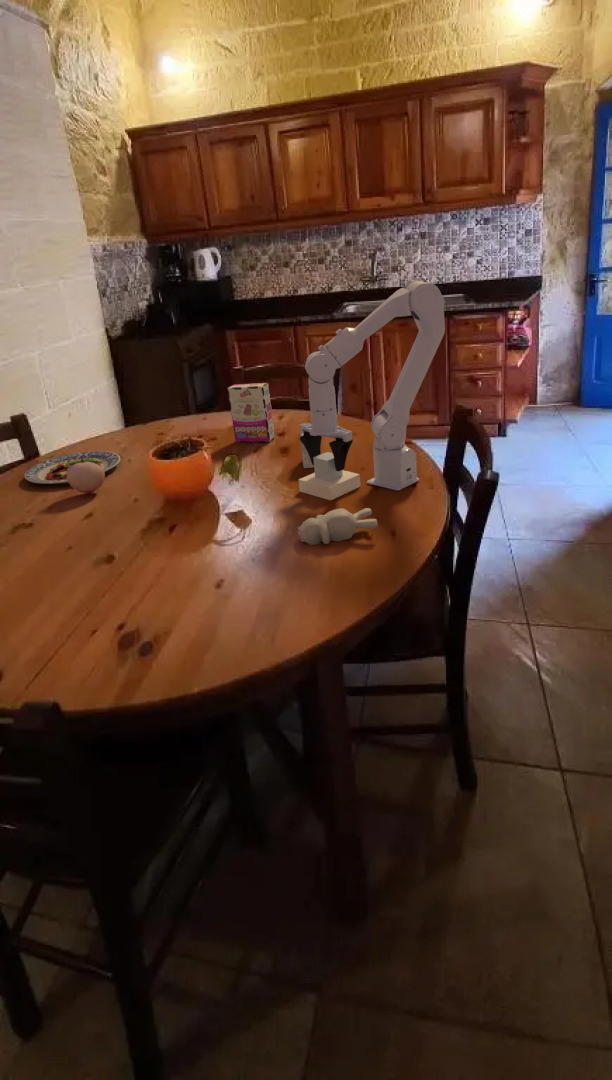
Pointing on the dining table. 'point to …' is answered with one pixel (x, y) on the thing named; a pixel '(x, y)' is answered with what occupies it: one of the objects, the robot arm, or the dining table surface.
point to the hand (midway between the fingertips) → (328, 467)
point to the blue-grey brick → (326, 467)
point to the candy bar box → (251, 412)
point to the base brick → (329, 485)
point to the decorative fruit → (85, 474)
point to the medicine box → (306, 457)
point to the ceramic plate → (57, 473)
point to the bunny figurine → (334, 526)
